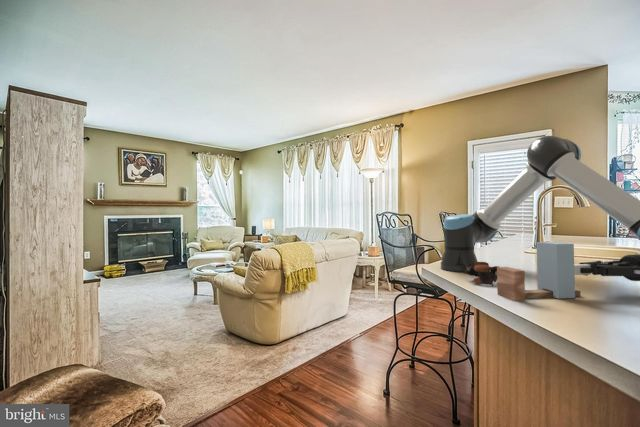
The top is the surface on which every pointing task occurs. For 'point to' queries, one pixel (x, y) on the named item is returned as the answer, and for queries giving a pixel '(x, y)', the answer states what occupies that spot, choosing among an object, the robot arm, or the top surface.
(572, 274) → the blue-grey tall block
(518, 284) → the wooden mallet
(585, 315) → the top surface
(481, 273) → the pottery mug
